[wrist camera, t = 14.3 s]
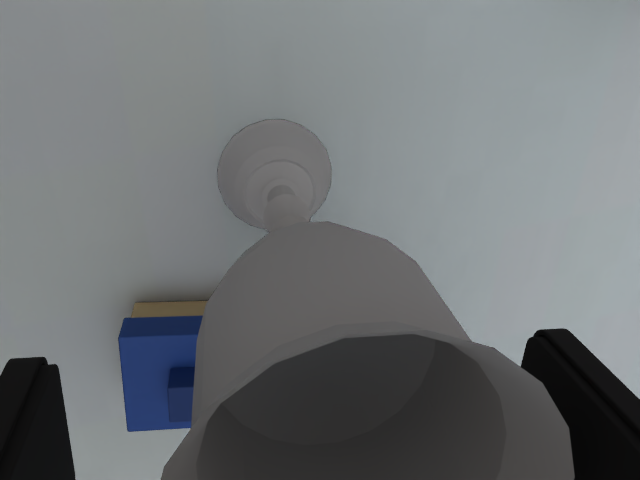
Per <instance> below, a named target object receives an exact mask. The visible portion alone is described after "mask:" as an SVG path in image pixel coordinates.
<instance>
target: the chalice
mask: <svg viewBox="0 0 640 480" xmlns="http://www.w3.org/2000/svg"><path fill="white" fill-rule="evenodd" d="M217 171H218V187H219V190H220V192H221V195H222V197H223V200H224V202H225V204H226V205H227V206H228V207H229V209H230V210H231V211H232V212H233V213H234V214H235V216H236V217H238V218H240V219H241V220H243V221H244V222H246V223H248V224H249V225H251V226H255V227H259V228H263V229H266V230H267V231H268V232H269V233H268V234H267V235H266V236H264V237H263V238H262V239H260V240H259V241H258V242H257V243H255V244H254V245H253V246H251V247H250V248H249V249H248V250H246V251H245V252H244V253H243V254H242V255H241V257H240V258H239V259H238V260H237V261H236V262H235V263H234V264H233V266H232V267H231V268H230V269H229V270H228V271H227V273H226V274H225V276H224V277H223V279H222V280H221V282H220V283H219V285H218V287H217V288H216V290H215V291H214V293H213V294H212V296H211V297H210V299H209V300H208V302H207V303H206V306H205V310H204V314H203V318H202V322H201V326H200V329H199V333H198V337H197V345H196V360H195V375H194V390H193V405H192V420H191V430H190V431H189V432H188V434H187V435H186V437H185V438H184V440H183V441H182V442H181V444H180V445H179V447H178V448H177V450H176V451H175V452H174V454H173V455H172V457H171V458H170V459H169V461H168V462H167V464H166V465H165V467H164V470H163V473H162V477H161V480H574V478H575V475H574V466H573V458H572V450H571V441H570V433H569V427H568V425H567V424H566V422H565V420H564V419H563V417H562V415H561V414H560V412H559V410H558V409H557V407H556V405H555V403H554V402H553V400H552V398H551V397H550V395H549V393H548V392H547V390H546V388H545V386H544V385H543V383H542V382H541V381H539V380H538V379H536V378H535V377H534V376H532V375H531V374H529V373H528V372H527V371H525V370H524V369H523V368H521V367H520V366H518V365H517V364H516V363H514V362H513V361H511V360H510V359H509V358H507V357H506V356H505V355H503V354H502V353H500V352H499V351H498V350H496V349H495V348H493V347H489V346H486V345H482V344H478V343H475V342H472V341H471V340H470V338H469V337H468V335H467V334H466V332H465V331H464V330H463V328H462V327H461V325H460V324H459V322H458V321H457V320H456V318H455V317H454V315H453V314H452V312H451V311H450V310H449V308H448V307H447V305H446V304H445V302H444V301H443V299H442V298H441V297H440V295H439V294H438V292H437V291H436V289H435V288H434V287H433V285H432V284H431V282H430V281H429V279H428V278H427V277H426V275H425V274H424V272H423V271H422V269H421V268H420V266H419V265H418V264H417V262H416V261H415V260H413V259H412V258H411V257H409V256H408V255H406V254H405V253H404V252H402V251H401V250H400V249H398V248H397V247H396V246H394V245H393V244H392V243H390V242H389V241H388V240H386V239H384V238H380V237H377V236H374V235H371V234H368V233H364V232H361V231H358V230H355V229H351V228H348V227H345V226H341V225H338V224H335V223H331V222H310V218H311V216H313V214H315V213H316V211H317V210H318V209H319V207H320V206H321V205H322V203H323V202H324V201H325V199H326V196H327V194H328V191H329V188H330V185H331V163H330V160H329V157H328V154H327V150H326V149H325V147H324V146H323V145H322V143H321V142H320V140H319V139H318V138H317V136H316V135H315V134H313V133H312V132H310V131H309V130H308V129H306V128H305V127H303V126H302V125H300V124H296V123H293V122H290V121H287V120H263V121H260V122H258V123H255V124H252V125H249V126H247V127H245V128H244V129H243V130H241V131H240V132H239V133H238V134H236V135H235V136H234V137H232V139H231V140H230V142H229V143H228V145H227V146H226V148H225V149H224V151H223V152H222V155H221V159H220V162H219V166H218V169H217Z"/></svg>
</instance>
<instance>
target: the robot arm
mask: <svg viewBox="0 0 640 480" xmlns="http://www.w3.org/2000/svg"><path fill="white" fill-rule="evenodd" d="M521 368H523V369H524V370H525V371H527V372H528V373H529V374H531V375H532V376H534V377H535V378H536V379H538V380H539V381H541V382H542V383H543V385H544V386H545V388H546V390H547V392H548V393H549V395H550V397H551V398H552V400H553V402H554V403H555V405H556V407H557V409H558V410H559V412H560V414H561V415H562V417H563V419H564V420H565V422H566V424H567V425H568V427H569V433H570V441H571V450H572V458H573V466H574V475H575V478H574V480H640V399H638V398H637V397H636V396H635V395H634V394H633V393H632V392H631V391H630V390H629V389H628V388H627V387H626V386H625V385H624V384H623V383H622V382H621V381H620V380H619V379H618V378H617V377H616V376H615V375H614V374H613V373H612V372H611V371H610V370H609V369H608V368H607V367H606V366H605V365H604V364H603V363H602V362H601V361H600V360H599V359H598V358H596V357H595V356H594V355H593V354H592V353H591V352H590V351H589V350H588V349H587V348H586V347H585V346H584V345H583V344H582V343H581V342H580V341H579V340H578V339H577V338H576V337H575V336H574V335H573V334H572V333H571V332H570V331H568V330H567V329H544V330H538V331H537V332H536V333H535V334H534V336H533V337H531V338H529V339H528V341H527V344H526V348H525V352H524V356H523V360H522V364H521ZM0 480H75V471H74V464H73V458H72V451H71V445H70V438H69V432H68V425H67V419H66V412H65V406H64V399H63V393H62V387H61V380H60V374H59V368H58V366H57V365H56V364H52V365H48V363H47V360H46V358H45V357H32V358H14V359H10V360H9V361H8V362H7V364H6V366H5V368H4V370H3V372H2V374H1V375H0Z"/></svg>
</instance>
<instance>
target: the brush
mask: <svg viewBox="0 0 640 480" xmlns="http://www.w3.org/2000/svg"><path fill="white" fill-rule="evenodd" d="M207 302H208V301H180V302H143V303H135V304H134V308H133V312H132V315H131V318H124V320H123V324H122V327H121V331H120V334H119V337H118V341H119V351H120V361H121V371H122V381H123V392H124V402H125V412H126V422H127V430H128V431H129V432H132V431H148V430H164V429H181V428H191V420H192V405H193V390H194V375H195V360H196V345H197V337H198V333H199V329H200V326H201V322H202V318H203V314H204V310H205V306H206V303H207Z"/></svg>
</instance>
